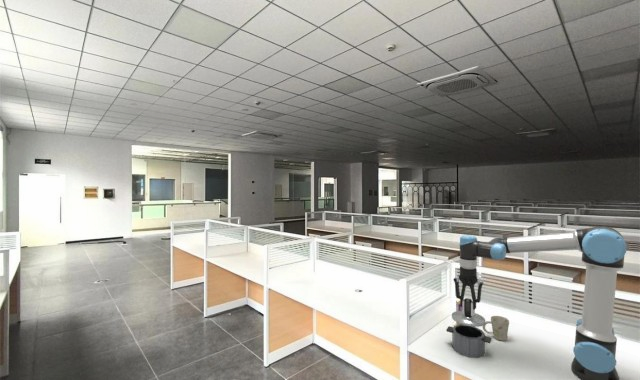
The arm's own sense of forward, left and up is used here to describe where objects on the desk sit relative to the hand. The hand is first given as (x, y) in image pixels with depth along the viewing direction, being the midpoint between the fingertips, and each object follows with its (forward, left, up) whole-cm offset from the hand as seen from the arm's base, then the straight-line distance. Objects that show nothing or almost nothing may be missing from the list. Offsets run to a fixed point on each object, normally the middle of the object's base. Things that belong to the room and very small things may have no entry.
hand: (468, 314), depth 148 cm
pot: (0, 0, -18) cm, 18 cm away
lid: (0, 0, -3) cm, 3 cm away
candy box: (+6, -22, -18) cm, 29 cm away
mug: (-9, -21, -18) cm, 29 cm away
